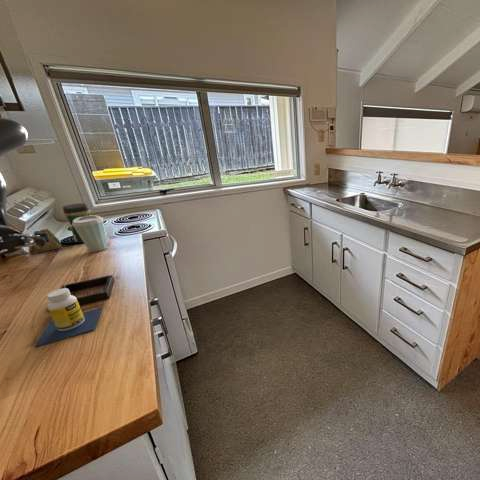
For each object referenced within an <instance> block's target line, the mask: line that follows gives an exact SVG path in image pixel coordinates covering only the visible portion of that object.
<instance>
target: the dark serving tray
mask: <svg viewBox="0 0 480 480" xmlns="http://www.w3.org/2000/svg"><path fill="white" fill-rule="evenodd" d="M114 284H115V278H114V275H113V274H109V275H105V276H100V277H95V278H91V279H86V280H83V281H82V280H81V281H76V282H72V283H67V284H63V285H61V286H60V288H59V289H64V288H67V289H69V291H70V293H73V292H78V291H81V290H86V289H90V288H94V287H95V288H96V287H100V286H103V287H104V288H103V290H102V291H99V292H94V293H91V294H86V295H82V296H78V297H76V299H77V301H78V303H79V306H80V307H82V306H86V305H89V304H94V303H98V302H102V301H106V300H109V299H110V298H111V294H112V291H113V287H114Z"/></svg>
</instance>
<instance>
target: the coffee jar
mask: <svg viewBox="0 0 480 480" xmlns="http://www.w3.org/2000/svg"><path fill="white" fill-rule="evenodd" d="M62 210H63V215H64V217H65V218H67V221H68V222H69V226H70V228H71V233H72V237H73V239H74V242H75V243H76V244H77V243H78V244H82V243H84V242H83V240H82V239H81V237H80V236H79V234H78V233H77V231H76V230H75V228H74V227H73V226H72V223H73V220H74V219H76V218H79V217H84V216H90V215H91V210H90V207H89V206H88V204H87V203H85V202H80V203H71V204H66V205H63V206H62Z"/></svg>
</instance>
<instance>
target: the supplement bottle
mask: <svg viewBox="0 0 480 480" xmlns="http://www.w3.org/2000/svg"><path fill="white" fill-rule="evenodd" d="M46 298H47V300H48V301H49V302H48V303H47V304H46V309H47V311H48V312H49V315H50V317H51V319H52V320H53V321H54V324H55V326H56V328H57V329H58V330H59V331H66V330H70V329H73V328H76V327H78V326H79V325H81V324H82V323H83V322H84V320H85V319H84V316H83V313H82V312H83V311H82V309H81V306H79V303H78V301H77V299H76V298H77V297H76V296H75V295H73V294H71V292H70V291H69V289H67V288H64V289H60V288H59V289H55V290H52V291H50V292H49V293H47V294H46Z"/></svg>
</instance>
